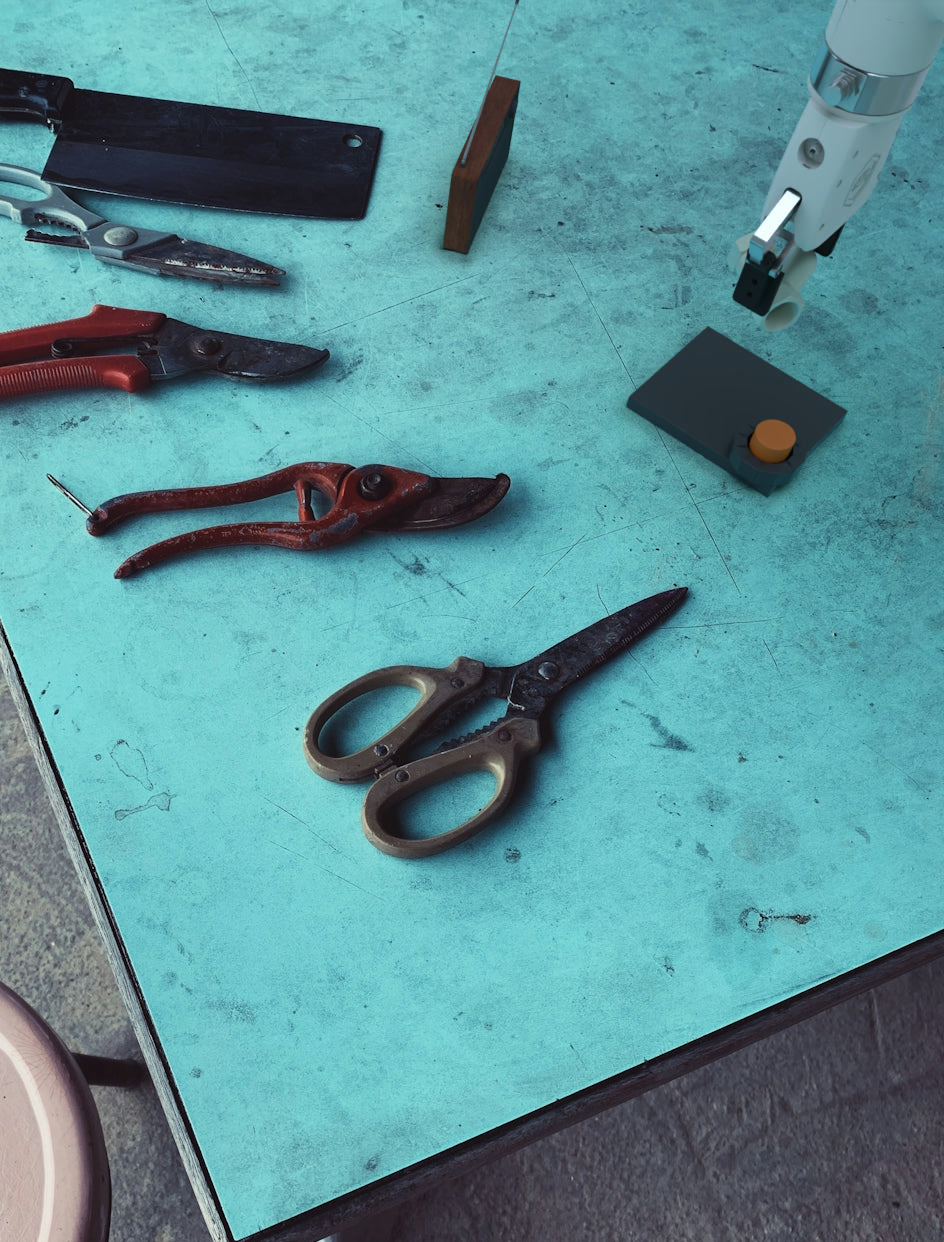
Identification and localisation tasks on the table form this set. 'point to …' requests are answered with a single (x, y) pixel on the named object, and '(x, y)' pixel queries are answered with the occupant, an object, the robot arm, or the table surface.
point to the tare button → (772, 441)
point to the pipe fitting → (788, 296)
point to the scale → (734, 408)
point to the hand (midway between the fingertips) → (781, 276)
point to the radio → (481, 160)
